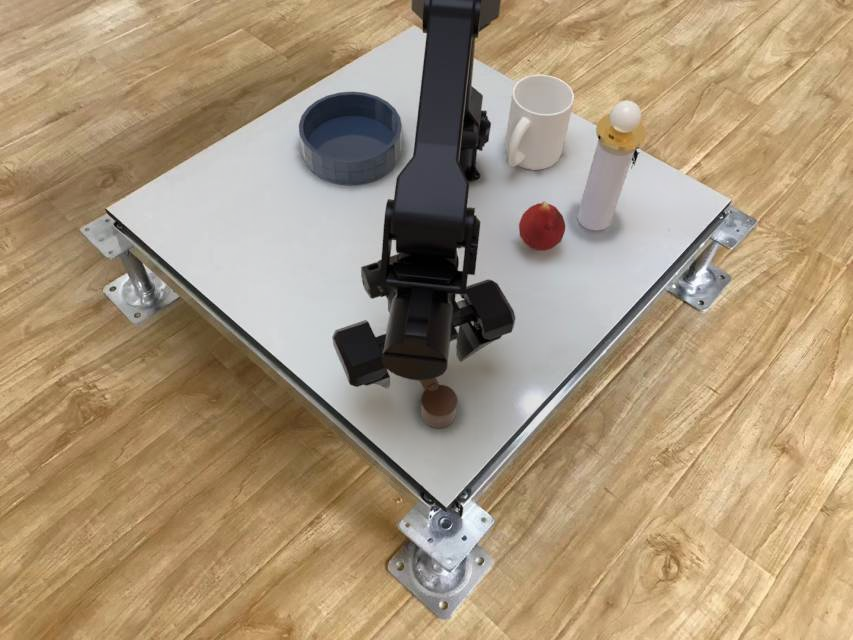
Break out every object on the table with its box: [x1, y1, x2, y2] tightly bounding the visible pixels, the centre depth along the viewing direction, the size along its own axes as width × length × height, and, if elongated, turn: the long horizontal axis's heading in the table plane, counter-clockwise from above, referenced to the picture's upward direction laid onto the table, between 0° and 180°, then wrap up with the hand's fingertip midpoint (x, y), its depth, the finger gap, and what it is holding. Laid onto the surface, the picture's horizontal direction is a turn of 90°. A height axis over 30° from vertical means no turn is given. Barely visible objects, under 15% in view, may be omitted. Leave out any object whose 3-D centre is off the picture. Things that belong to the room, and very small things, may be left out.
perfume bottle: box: [576, 99, 647, 231], centre depth 95 cm, size 6×6×20 cm
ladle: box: [419, 378, 458, 429], centre depth 87 cm, size 10×4×3 cm, turn 23°
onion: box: [518, 201, 566, 252], centre depth 98 cm, size 6×6×8 cm
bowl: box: [298, 91, 403, 186], centre depth 108 cm, size 14×14×4 cm
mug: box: [504, 74, 575, 171], centre depth 106 cm, size 12×8×10 cm
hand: (423, 371), depth 87 cm, fingers open, 9 cm apart
